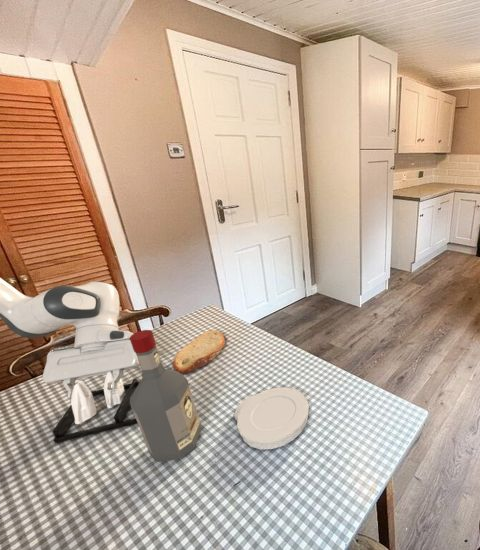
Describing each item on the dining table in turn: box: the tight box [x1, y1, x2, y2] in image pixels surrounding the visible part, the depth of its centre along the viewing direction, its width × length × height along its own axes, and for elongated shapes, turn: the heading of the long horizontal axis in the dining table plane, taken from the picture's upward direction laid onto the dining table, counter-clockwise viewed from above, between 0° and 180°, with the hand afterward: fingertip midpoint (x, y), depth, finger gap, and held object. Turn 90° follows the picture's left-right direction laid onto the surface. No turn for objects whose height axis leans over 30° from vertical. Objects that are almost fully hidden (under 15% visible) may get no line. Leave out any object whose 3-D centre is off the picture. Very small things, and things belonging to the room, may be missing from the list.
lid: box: [233, 386, 310, 450], centre depth 77 cm, size 17×20×3 cm
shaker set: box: [70, 370, 126, 425], centre depth 78 cm, size 12×4×11 cm, turn 156°
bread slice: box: [172, 330, 226, 375], centre depth 102 cm, size 18×18×4 cm
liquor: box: [130, 329, 203, 463], centre depth 65 cm, size 9×9×30 cm
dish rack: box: [51, 378, 140, 444], centre depth 80 cm, size 19×16×3 cm
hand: (93, 393), depth 77 cm, fingers closed on shaker set, 7 cm apart
